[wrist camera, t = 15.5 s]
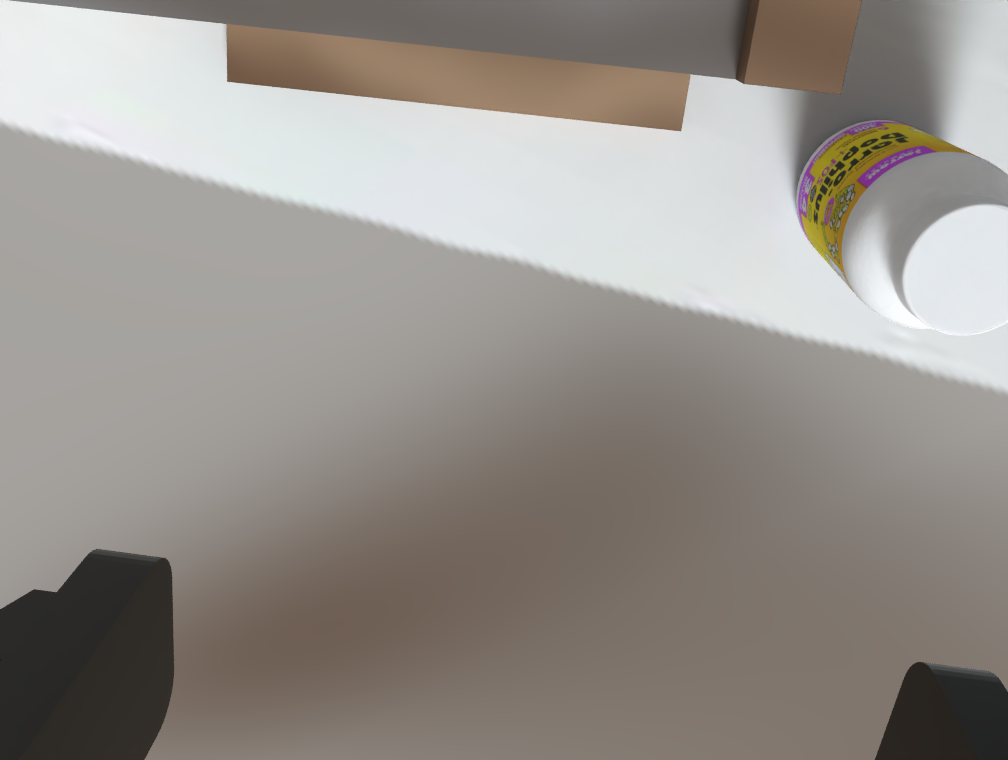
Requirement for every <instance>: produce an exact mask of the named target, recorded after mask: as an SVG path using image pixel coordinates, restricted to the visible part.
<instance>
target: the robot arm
mask: <svg viewBox="0 0 1008 760" xmlns="http://www.w3.org/2000/svg"><path fill="white" fill-rule="evenodd" d="M172 597H173V596H172V572H171V566H170V563H169V561H168V560H167V559H166V558H160V557H153V556H146V555H138V554H131V553H124V552H116V551H109V550H101V549H96V550H93V551H92V552H90V553H89V554H88V555H87V556H86V557H85V558H84V560H83V561H82V562H81V563H80V565H79V566H78V567H77V568H76V570H75V571H74V572H73V573H72V574H71V575H70V577H69V578H68V579H67V581H66V582H65V583H64V584H63V585H62V587H61V588H60V589H59V590H58V592H50V591H42V590H35V589H34V590H32V591H31V592H29V593H27V594H25V595H24V596H22V597H20V598H19V599H17V600H15V601H14V602H12V603H10V604H9V605H7V606H6V607H4V608H2V609H0V760H144V759H145V758H146V756H147V754H148V751H149V750H150V748H151V746H152V744H153V742H154V741H155V739H156V737H157V735H158V733H159V731H160V729H161V726H162V724H163V722H164V719H165V716H166V713H167V709H168V706H169V702H170V697H171V693H172V687H173V678H174V645H173V601H172V600H173V599H172ZM875 760H1008V692H1007V690H1006V689H1005V687H1004V685H1003V684H1002V682H1001V681H1000V679H999V678H998V677H997V676H996V675H995V674H993V673H991V672H989V671H983V670H976V669H968V668H960V667H953V666H946V665H939V664H931V663H924V662H917V663H915V664H913V665H912V666H911V667H910V668H909V669H908V671H907V673H906V675H905V677H904V680H903V682H902V685H901V688H900V691H899V694H898V697H897V699H896V702H895V705H894V708H893V710H892V713H891V716H890V719H889V722H888V724H887V727H886V730H885V733H884V736H883V738H882V741H881V744H880V747H879V750H878V753H877V755H876V758H875Z"/></svg>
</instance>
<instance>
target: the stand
mask: <svg viewBox="0 0 1008 760" xmlns="http://www.w3.org/2000/svg"><path fill="white" fill-rule="evenodd" d="M12 1H21V2H30V3H39V4H49V5H58V6H67V7H76V8H85V9H95V10H104V11H113V12H122V13H131V14H141V15H150V16H159V17H168V18H177V19H187V20H196V21H205V22H214V23H223V24H227V82H235V83H245V84H254V85H263V86H272V87H281V88H290V89H299V90H309V91H318V92H327V93H336V94H345V95H354V96H364V97H373V98H382V99H391V100H400V101H409V102H418V103H428V104H437V105H446V106H455V107H464V108H473V109H482V110H492V111H501V112H510V113H519V114H528V115H537V116H547V117H556V118H565V119H574V120H583V121H592V122H601V123H611V124H620V125H629V126H638V127H647V128H656V129H666V130H675V131H681V128H682V122H683V116H684V110H685V104H686V98H687V92H688V86H689V80H690V74H693V75H702V76H711V77H720V78H730V79H736V80H738V81H740V82H742V83H743V84H750V85H759V86H768V87H777V88H786V89H796V90H805V91H814V92H823V93H832V94H841V90H842V86H843V81H844V77H845V72H846V68H847V64H848V59H849V55H850V50H851V46H852V41H853V37H854V33H855V28H856V24H857V19H858V15H859V11H860V6H861V2H862V0H12Z"/></svg>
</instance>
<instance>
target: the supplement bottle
mask: <svg viewBox="0 0 1008 760" xmlns="http://www.w3.org/2000/svg"><path fill="white" fill-rule="evenodd" d="M796 208H797V215H798V219H799V223H800V226H801V228H802V230H803V232H804V234H805V235H806V237H807V239H808V240H809V242H810V243H811V244H812V245H813V247H814V248H815V249H816V250H817V251H818V253H819V254H820V255H821V256H822V257H823V258H824V259H825V260H826V261H827V263H828V264H829V265H830V266H831V267H832V268H833V269H834V271H835V272H836V273H837V274H838V275H839V276H840V277H841V279H842V280H843V281H844V282H845V283H846V284H847V285H848V286H849V287H850V289H851V290H852V291H853V292H854V293H855V294H856V296H857V297H858V298H859V299H860V300H861V301H862V302H863V303H864V304H865V305H866V306H868V307H869V308H870V309H871V310H872V311H873V312H875V313H876V314H878V315H879V316H881V317H882V318H884V319H886V320H888V321H890V322H892V323H895V324H898V325H901V326H906V327H910V328H917V329H934V330H936V331H939V332H942V333H946V334H951V335H975V334H979V333H984V332H987V331H990V330H993V329H995V328H997V327H1000V326H1001V325H1003V324H1005V323H1007V322H1008V175H1007V174H1006V173H1005V172H1004V171H1002V170H1001V169H1000V168H998V167H997V166H995V165H993V164H992V163H990V162H988V161H986V160H984V159H982V158H980V157H978V156H976V155H973V154H971V153H969V152H967V151H965V150H962V149H960V148H958V147H956V146H954V145H952V144H949V143H947V142H945V141H943V140H941V139H939V138H936V137H934V136H932V135H930V134H927V133H925V132H923V131H921V130H919V129H917V128H914V127H912V126H909V125H906V124H903V123H900V122H896V121H890V120H870V121H864V122H860V123H856V124H853V125H851V126H848V127H846V128H844V129H842V130H840V131H838V132H837V133H835V134H833V135H832V136H831V137H829V138H828V139H827V140H826V141H825V142H823V143H822V144H821V145H820V146H819V147H818V148H817V150H816V151H815V152H814V153H813V154H812V156H811V157H810V159H809V160H808V162H807V164H806V165H805V167H804V169H803V172H802V174H801V177H800V180H799V183H798V188H797V194H796Z"/></svg>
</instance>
